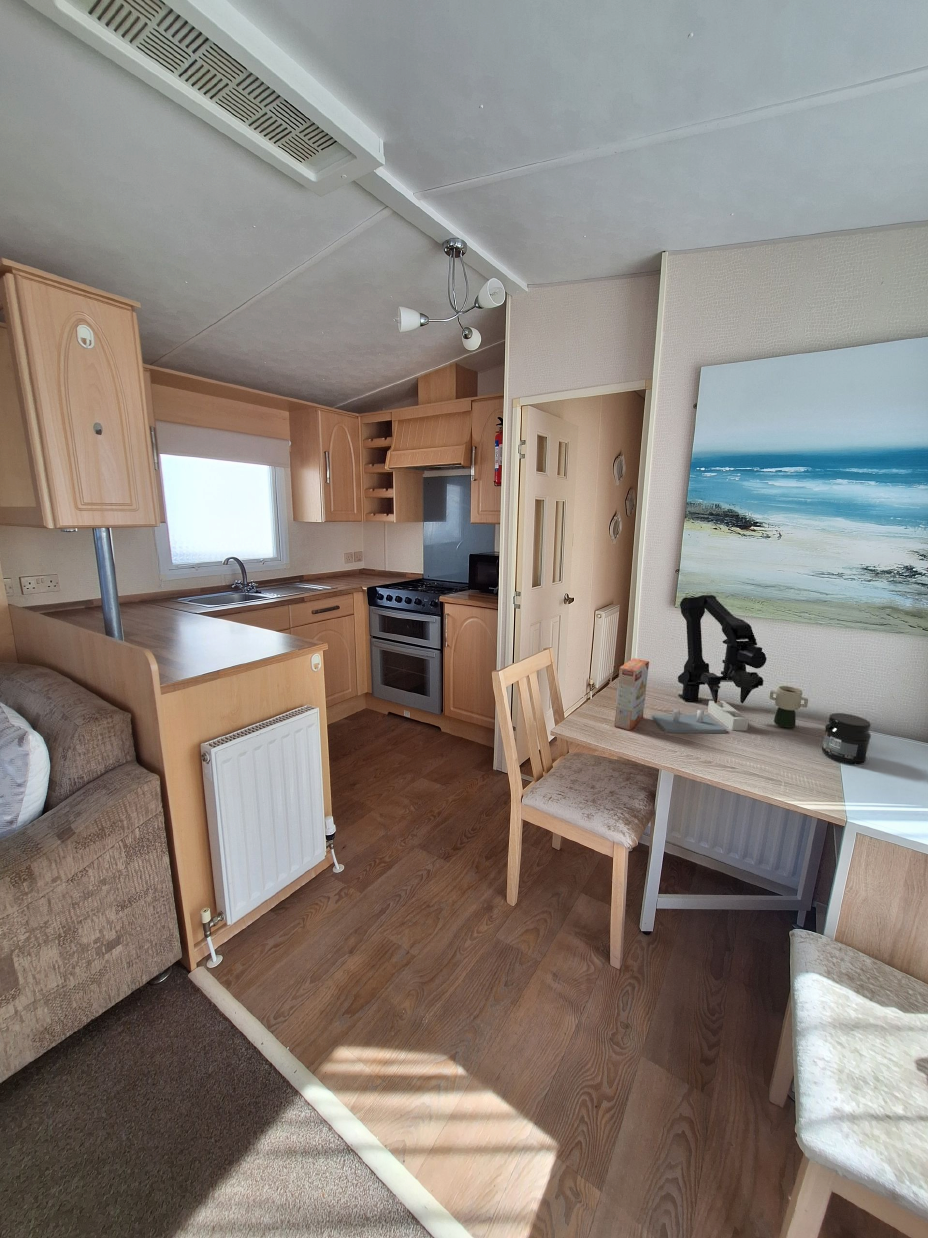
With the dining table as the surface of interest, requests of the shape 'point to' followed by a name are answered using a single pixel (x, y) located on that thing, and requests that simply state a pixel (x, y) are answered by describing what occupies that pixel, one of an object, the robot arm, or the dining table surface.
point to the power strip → (728, 715)
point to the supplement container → (846, 738)
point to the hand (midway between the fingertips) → (728, 702)
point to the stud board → (688, 723)
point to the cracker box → (631, 693)
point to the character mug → (787, 705)
